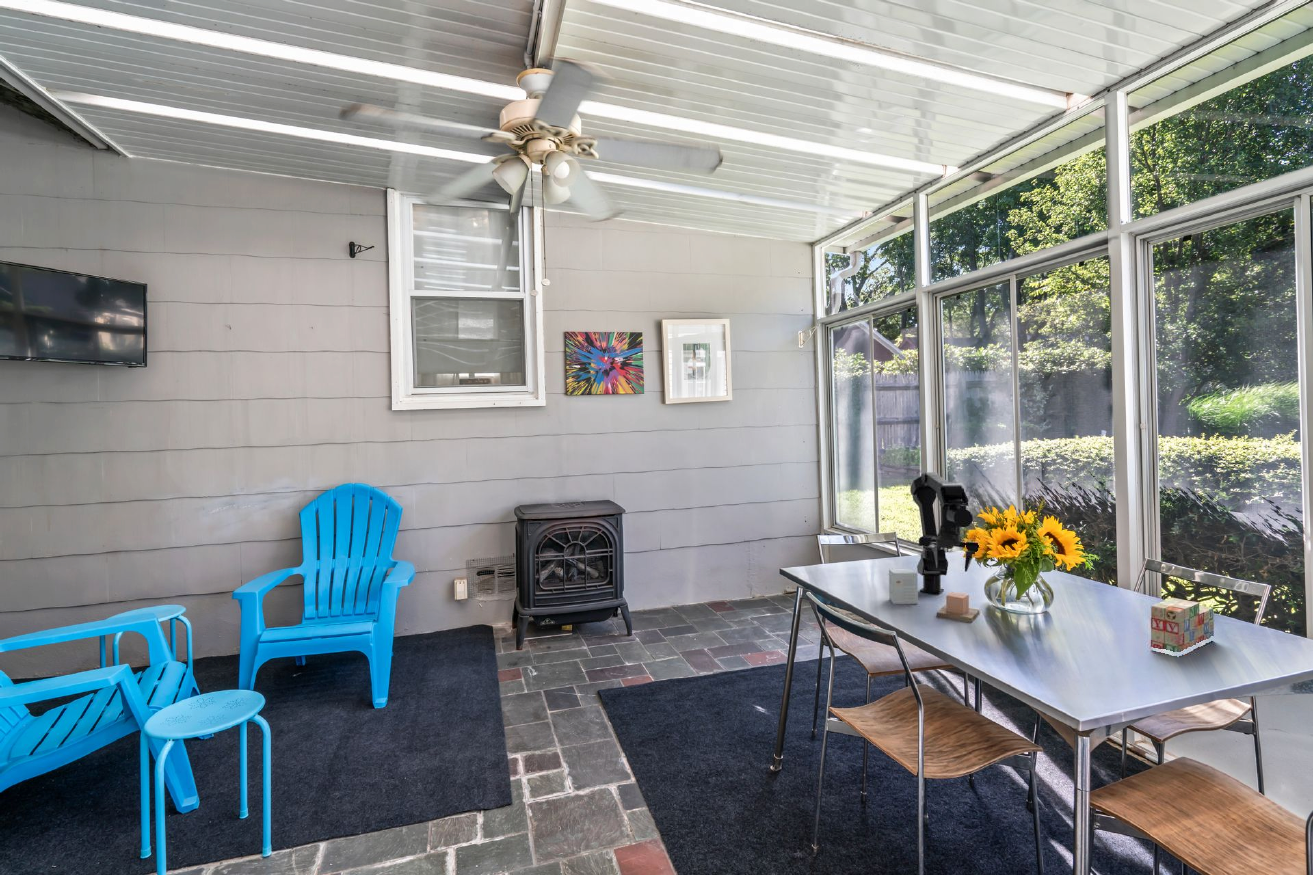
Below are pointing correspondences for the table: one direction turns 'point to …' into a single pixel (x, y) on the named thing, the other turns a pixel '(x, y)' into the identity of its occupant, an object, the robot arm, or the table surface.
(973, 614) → the walnut base
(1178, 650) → the stack of blocks
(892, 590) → the small box
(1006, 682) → the table surface
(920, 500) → the robot arm
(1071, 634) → the table surface
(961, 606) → the terracotta cube
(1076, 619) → the table surface
